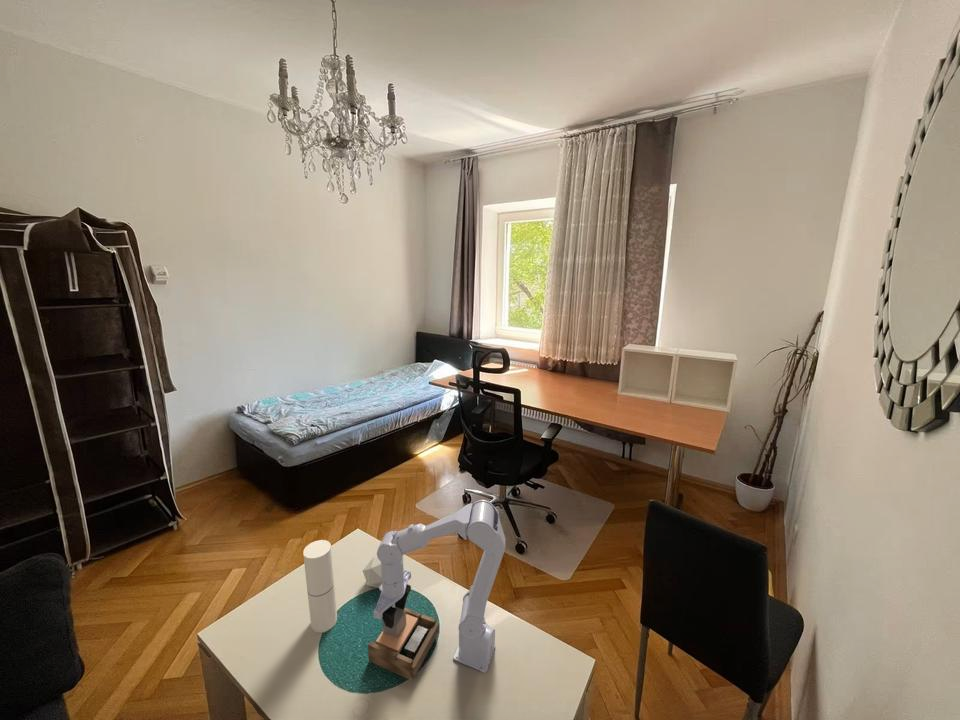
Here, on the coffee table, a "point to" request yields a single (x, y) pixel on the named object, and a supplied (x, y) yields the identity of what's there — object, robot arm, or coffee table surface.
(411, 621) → the trapdoor
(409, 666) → the frame
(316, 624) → the cylindrical container
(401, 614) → the stone
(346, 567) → the coffee table surface
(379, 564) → the die
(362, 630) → the coffee table surface
